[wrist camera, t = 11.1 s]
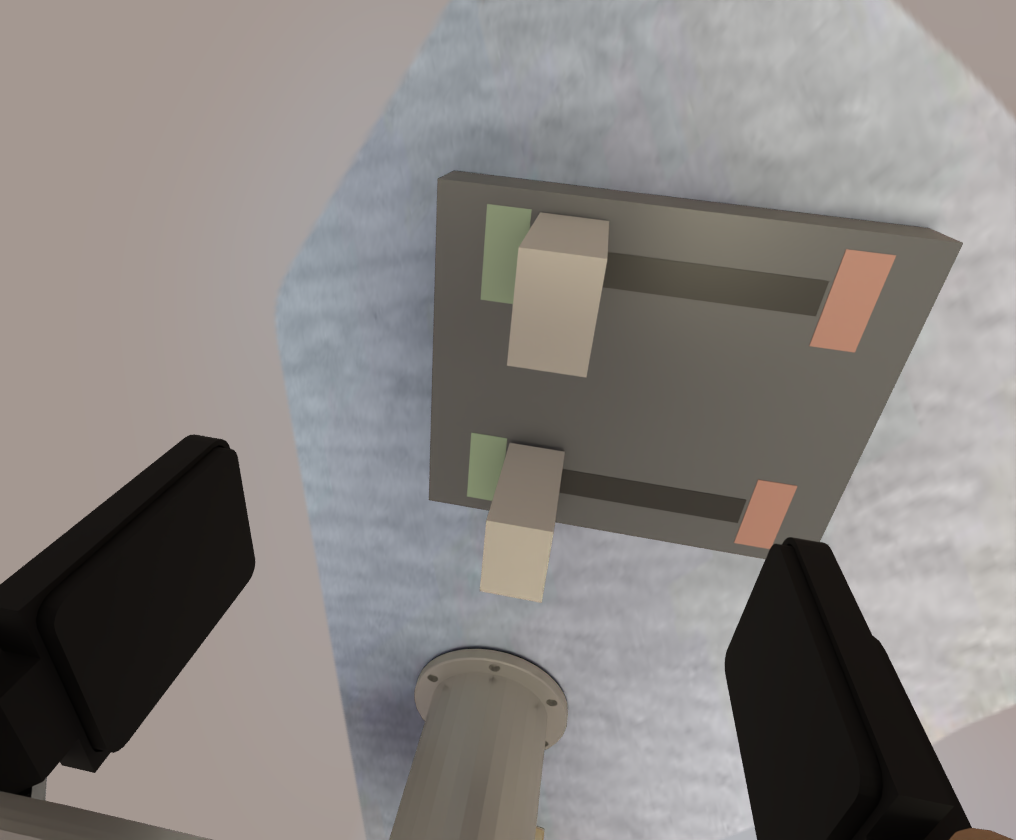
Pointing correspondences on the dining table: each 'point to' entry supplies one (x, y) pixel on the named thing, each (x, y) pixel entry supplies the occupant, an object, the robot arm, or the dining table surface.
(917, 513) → the dining table surface
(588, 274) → the block
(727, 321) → the breaker panel
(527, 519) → the block
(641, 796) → the dining table surface
